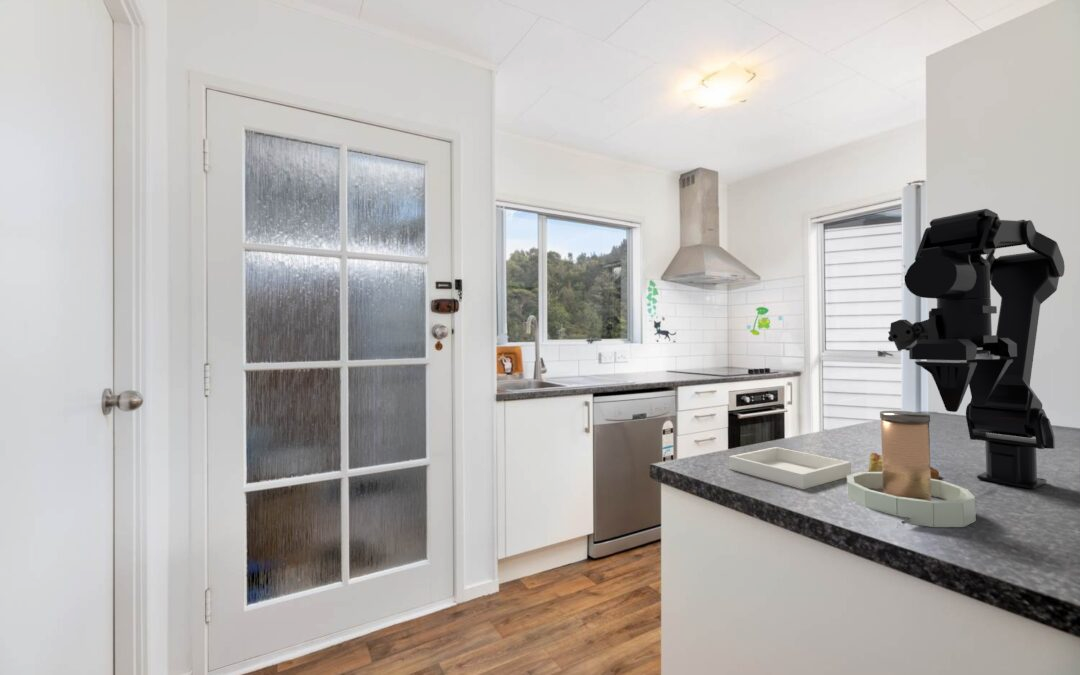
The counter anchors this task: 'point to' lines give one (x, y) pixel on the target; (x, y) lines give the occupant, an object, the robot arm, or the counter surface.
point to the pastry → (876, 465)
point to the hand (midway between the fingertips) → (965, 408)
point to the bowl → (915, 502)
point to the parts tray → (790, 467)
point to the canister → (906, 454)
